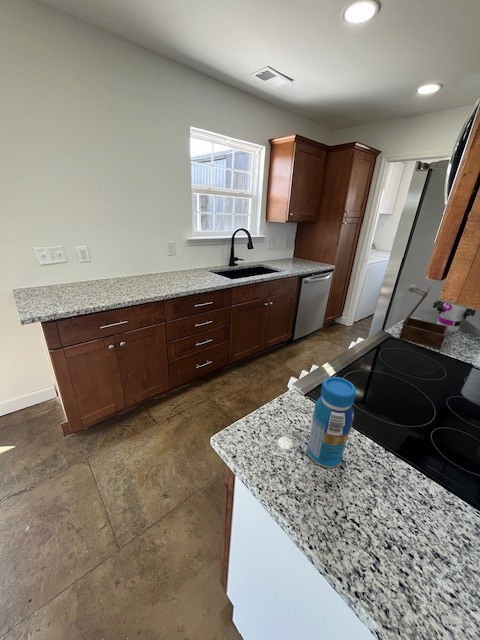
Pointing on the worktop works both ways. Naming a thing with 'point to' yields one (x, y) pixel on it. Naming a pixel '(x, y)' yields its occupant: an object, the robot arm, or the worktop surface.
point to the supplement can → (451, 316)
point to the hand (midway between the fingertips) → (452, 313)
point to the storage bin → (423, 333)
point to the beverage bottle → (331, 422)
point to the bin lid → (412, 289)
